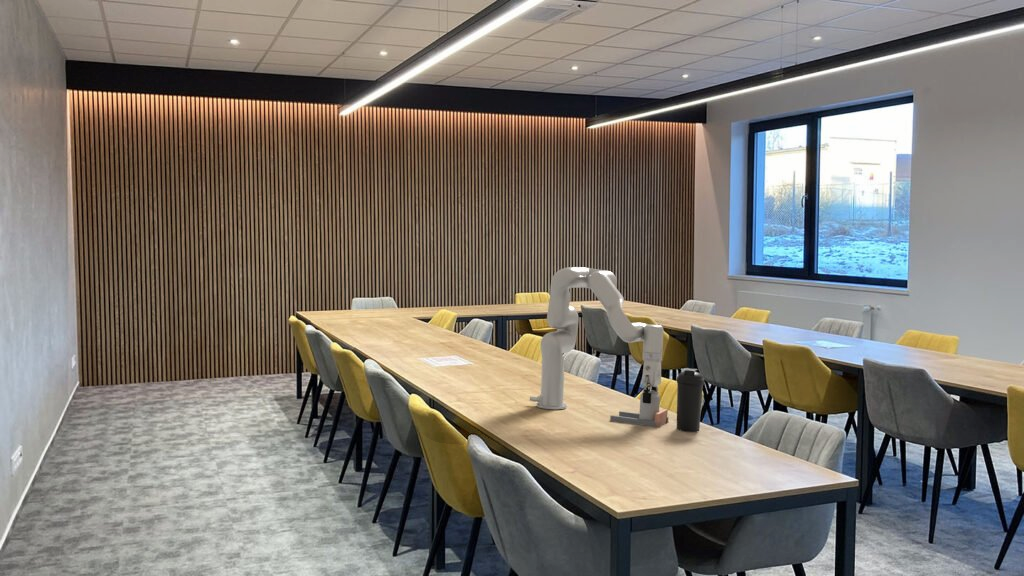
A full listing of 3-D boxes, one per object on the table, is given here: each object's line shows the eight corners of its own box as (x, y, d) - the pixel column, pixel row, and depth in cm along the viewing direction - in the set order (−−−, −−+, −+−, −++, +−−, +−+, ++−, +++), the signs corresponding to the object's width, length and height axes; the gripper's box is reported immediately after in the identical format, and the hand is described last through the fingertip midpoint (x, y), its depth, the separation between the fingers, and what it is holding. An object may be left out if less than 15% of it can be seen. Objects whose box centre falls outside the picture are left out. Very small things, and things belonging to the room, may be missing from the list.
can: (658, 424, 329) (659, 393, 329) (638, 422, 331) (640, 391, 330) (658, 420, 337) (660, 390, 336) (639, 418, 338) (641, 388, 338)
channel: (610, 420, 335) (610, 408, 335) (619, 416, 345) (620, 403, 345) (659, 427, 326) (660, 414, 326) (668, 422, 336) (668, 409, 336)
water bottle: (703, 428, 327) (706, 368, 326) (699, 433, 318) (703, 372, 316) (676, 425, 331) (679, 366, 329) (672, 430, 321) (675, 369, 320)
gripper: (655, 359, 323) (652, 406, 324) (668, 355, 339) (665, 399, 340) (635, 357, 326) (633, 403, 327) (649, 353, 342) (647, 397, 343)
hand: (649, 401), depth 333 cm, fingers closed on can, 7 cm apart
